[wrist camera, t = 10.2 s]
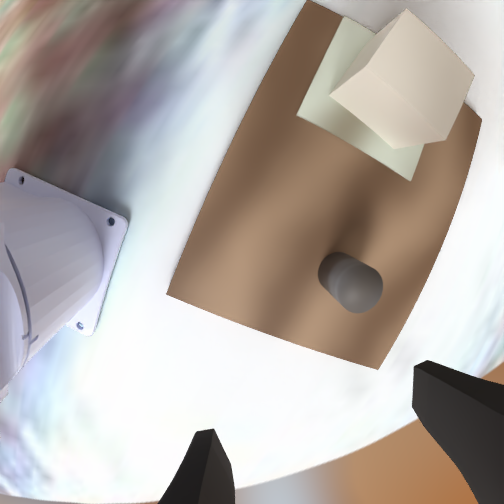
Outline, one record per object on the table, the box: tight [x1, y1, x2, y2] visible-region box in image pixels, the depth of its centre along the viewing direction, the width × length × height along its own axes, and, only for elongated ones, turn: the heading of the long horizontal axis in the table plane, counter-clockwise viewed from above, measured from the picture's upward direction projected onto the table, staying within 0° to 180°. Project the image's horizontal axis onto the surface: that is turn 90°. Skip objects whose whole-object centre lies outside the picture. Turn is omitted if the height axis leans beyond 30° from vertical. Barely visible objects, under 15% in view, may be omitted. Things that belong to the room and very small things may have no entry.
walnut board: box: [166, 0, 482, 370], centre depth 16 cm, size 15×20×4 cm
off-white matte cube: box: [329, 8, 475, 149], centre depth 14 cm, size 5×5×5 cm
